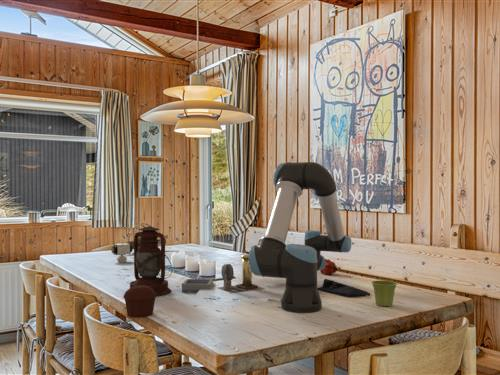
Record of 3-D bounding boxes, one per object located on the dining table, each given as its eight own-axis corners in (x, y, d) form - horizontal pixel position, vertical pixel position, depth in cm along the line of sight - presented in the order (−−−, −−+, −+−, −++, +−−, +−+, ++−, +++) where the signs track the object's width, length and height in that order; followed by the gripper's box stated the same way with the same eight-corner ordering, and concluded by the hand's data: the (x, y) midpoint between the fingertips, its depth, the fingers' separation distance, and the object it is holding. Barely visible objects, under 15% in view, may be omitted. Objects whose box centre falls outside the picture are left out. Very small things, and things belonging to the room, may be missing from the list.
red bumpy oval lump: (320, 275, 261) (335, 282, 251) (311, 267, 256) (326, 273, 246) (328, 261, 263) (344, 268, 253) (320, 253, 258) (335, 259, 248)
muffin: (159, 310, 180) (159, 283, 180) (154, 318, 169) (154, 289, 169) (126, 310, 180) (126, 283, 180) (119, 318, 169) (119, 289, 169)
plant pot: (377, 301, 195) (377, 279, 195) (400, 304, 189) (400, 282, 189) (367, 305, 187) (367, 282, 187) (390, 309, 181) (390, 286, 181)
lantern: (180, 290, 214) (180, 222, 214) (150, 299, 198) (150, 225, 198) (147, 286, 223) (147, 220, 223) (116, 294, 207) (116, 223, 207)
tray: (209, 292, 210) (209, 284, 210) (181, 292, 211) (181, 284, 211) (212, 286, 222) (212, 279, 222) (186, 286, 223) (186, 278, 223)
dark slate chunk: (344, 300, 198) (344, 288, 198) (314, 290, 218) (314, 279, 218) (374, 296, 205) (374, 285, 205) (342, 286, 225) (342, 276, 225)
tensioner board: (265, 292, 211) (265, 263, 211) (231, 296, 202) (231, 266, 202) (249, 286, 222) (249, 259, 222) (216, 291, 213) (216, 262, 213)
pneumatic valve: (111, 262, 295) (111, 242, 295) (129, 260, 302) (129, 241, 302) (114, 263, 291) (114, 243, 291) (133, 261, 297) (133, 242, 297)
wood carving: (171, 250, 349) (171, 235, 349) (126, 255, 326) (126, 238, 326) (164, 249, 356) (164, 234, 356) (120, 253, 333) (120, 237, 333)
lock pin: (252, 288, 211) (252, 256, 211) (240, 288, 211) (240, 256, 211) (253, 286, 216) (253, 254, 216) (241, 286, 216) (241, 254, 216)
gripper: (313, 277, 218) (274, 282, 206) (280, 269, 239) (243, 273, 228) (313, 260, 218) (274, 264, 207) (280, 254, 239) (243, 257, 228)
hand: (257, 269), depth 217 cm, fingers open, 13 cm apart
